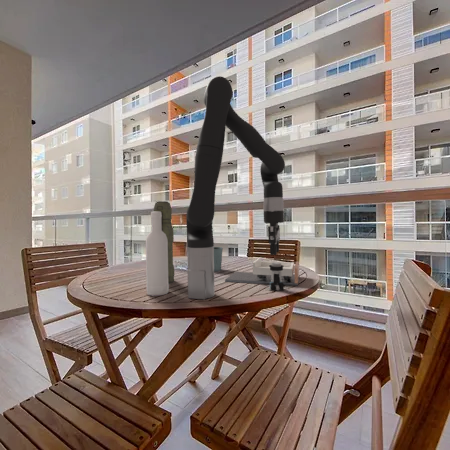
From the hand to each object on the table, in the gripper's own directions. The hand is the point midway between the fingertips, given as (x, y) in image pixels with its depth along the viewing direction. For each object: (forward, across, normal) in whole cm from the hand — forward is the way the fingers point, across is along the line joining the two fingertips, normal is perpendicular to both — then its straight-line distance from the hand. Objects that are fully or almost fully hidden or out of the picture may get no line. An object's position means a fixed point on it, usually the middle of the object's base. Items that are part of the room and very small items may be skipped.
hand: (274, 253), depth 96 cm
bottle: (+13, +15, -41) cm, 46 cm away
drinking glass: (+14, -31, -36) cm, 50 cm away
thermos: (+13, -1, -48) cm, 50 cm away
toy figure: (+14, 0, 0) cm, 14 cm away
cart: (+12, -16, -2) cm, 20 cm away
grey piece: (+14, -16, -7) cm, 22 cm away
